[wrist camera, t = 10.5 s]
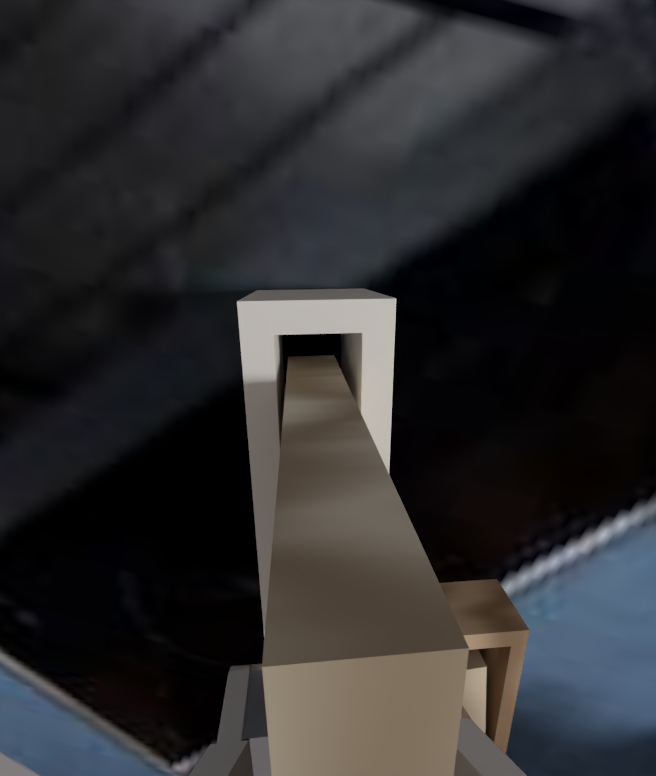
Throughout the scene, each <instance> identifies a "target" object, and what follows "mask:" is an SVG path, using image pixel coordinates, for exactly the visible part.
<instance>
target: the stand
mask: <svg viewBox="0 0 656 776" xmlns="http://www.w3.org/2000/svg"><path fill="white" fill-rule="evenodd" d="M237 310H238V322H239V334H240V347H241V359H242V371H243V383H244V396H245V408H246V420H247V433H248V445H249V457H250V469H251V482H252V494H253V506H254V518H255V531H256V543H257V555H258V567H259V580H260V592H261V604H262V616H263V629H264V637H265V625H266V613H267V601H268V589H269V578H270V566H271V554H272V542H273V530H274V518H275V506H276V495H277V483H278V471H279V459H280V447H281V435H282V423H283V412H284V400H285V384H284V364H283V343H282V335H298V334H338V333H341V371H342V373H343V376H344V378H345V380H346V382H347V384H348V386H349V389H350V391H351V393H352V395H353V397H354V399H355V402H356V404H357V406H358V408H359V410H360V412H361V415H362V417H363V419H364V421H365V423H366V425H367V428H368V430H369V432H370V434H371V436H372V439H373V441H374V443H375V445H376V447H377V449H378V452H379V454H380V456H381V458H382V460H383V462H384V465H385V467H386V469H387V471H388V473H389V466H390V441H391V416H392V392H393V367H394V342H395V318H396V298H393V297H390V296H387V295H383V294H380V293H377V292H373V291H370V290H367V289H304V290H256V291H255V292H253V293H251V294H249V295H247V296H246V297H244V298H242V299H240V300H238V301H237Z"/></svg>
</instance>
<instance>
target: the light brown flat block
mask: <svg viewBox="0 0 656 776" xmlns="http://www.w3.org/2000/svg"><path fill="white" fill-rule="evenodd" d="M468 654H469V647H468V645H467V642H466V640H465V638H464V636H463V634H462V632H461V629H460V627H459V625H458V623H457V621H456V619H455V616H454V614H453V612H452V610H451V608H450V606H449V603H448V601H447V599H446V597H445V595H444V593H443V590H442V588H441V586H440V584H439V582H438V580H437V577H436V575H435V573H434V571H433V569H432V566H431V564H430V562H429V560H428V558H427V556H426V553H425V551H424V549H423V547H422V545H421V543H420V540H419V538H418V536H417V534H416V532H415V530H414V527H413V525H412V523H411V521H410V519H409V517H408V514H407V512H406V510H405V508H404V506H403V504H402V501H401V499H400V497H399V495H398V493H397V491H396V488H395V486H394V484H393V482H392V480H391V478H390V475H389V473H388V471H387V469H386V467H385V465H384V462H383V460H382V458H381V456H380V454H379V452H378V449H377V447H376V445H375V443H374V441H373V439H372V436H371V434H370V432H369V430H368V428H367V425H366V423H365V421H364V419H363V417H362V415H361V412H360V410H359V408H358V406H357V404H356V402H355V399H354V397H353V395H352V393H351V391H350V389H349V386H348V384H347V382H346V380H345V378H344V376H343V373H342V371H341V369H340V367H339V365H338V363H337V360H336V358H335V356H334V355H323V356H293V357H288V364H287V376H286V388H285V400H284V412H283V423H282V435H281V447H280V459H279V471H278V483H277V495H276V506H275V518H274V530H273V542H272V554H271V566H270V578H269V589H268V601H267V613H266V625H265V637H264V649H263V661H262V673H263V685H264V696H265V707H266V718H267V729H268V741H269V752H270V763H271V774H272V776H454V768H455V760H456V752H457V743H458V735H459V727H460V719H461V711H462V703H463V694H464V686H465V678H466V670H467V662H468Z"/></svg>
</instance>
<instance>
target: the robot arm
mask: <svg viewBox="0 0 656 776" xmlns="http://www.w3.org/2000/svg"><path fill="white" fill-rule="evenodd" d="M189 776H272V774H271V763H270V752H269V741H268V729H267V718H266V707H265V696H264V685H263V673H262V664H253V665H239V666H231V667H230V670H229V673H228V678H227V684H226V690H225V696H224V702H223V708H222V714H221V720H220V726H219V732H218V738H217V743H215V744H210V745H209V747H208V748H207V750H206V751H205V752H204V754H203V755H202V757H201V758H200V760H199V761H198V763H197V764H196V766H195V767H194V769H193V770H192V771H191V773H190V774H189ZM454 776H527V775H526V774H525V773H524V772H523V771H522V770H521V769H520V768H519V767H518V766H517V765H516V764H515V763H514V762H513V761H512V760H511V759H510V758H509V757H508V756H507V755H506V754H505V753H504V752H503V751H502V750H501V749H500V748H499V747H498V746H497V745H496V744H495V743H494V742H493V741H492V740H491V739H490V738H489V737H488V736H487V735H486V734H485V733H484V732H483V731H482V730H481V729H480V728H479V727H478V726H477V725H476V724H475V723H474V722H473V721H472V720H471V719H470V718H469V717H464V718H463V717H462V714H461V719H460V727H459V735H458V743H457V752H456V760H455V768H454Z"/></svg>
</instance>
